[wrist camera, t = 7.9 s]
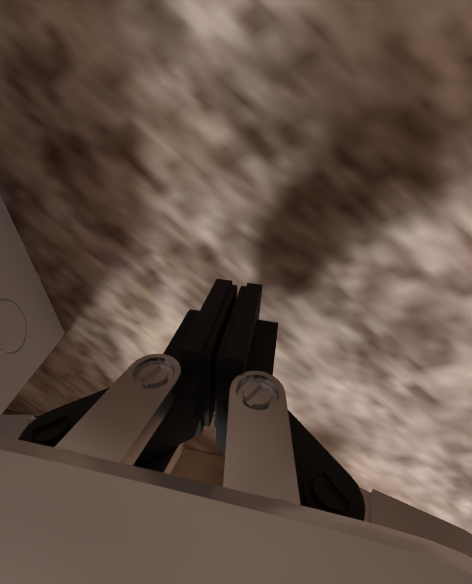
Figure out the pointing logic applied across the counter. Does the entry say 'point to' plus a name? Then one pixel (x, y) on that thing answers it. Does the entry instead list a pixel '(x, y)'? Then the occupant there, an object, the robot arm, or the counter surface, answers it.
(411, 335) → the counter surface
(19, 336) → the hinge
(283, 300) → the counter surface
